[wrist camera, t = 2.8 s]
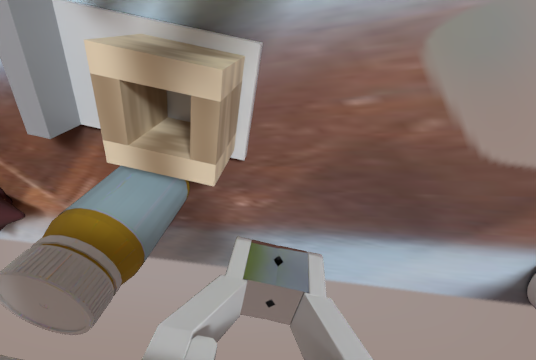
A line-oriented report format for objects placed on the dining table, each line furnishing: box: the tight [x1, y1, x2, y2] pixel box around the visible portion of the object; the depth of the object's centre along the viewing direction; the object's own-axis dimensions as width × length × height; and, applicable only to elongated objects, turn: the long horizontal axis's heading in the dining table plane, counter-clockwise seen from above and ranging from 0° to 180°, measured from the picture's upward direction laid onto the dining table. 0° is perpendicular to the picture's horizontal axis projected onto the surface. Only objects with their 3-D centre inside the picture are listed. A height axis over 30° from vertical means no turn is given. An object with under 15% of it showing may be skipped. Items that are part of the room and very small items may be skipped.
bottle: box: [0, 166, 190, 335], centre depth 22 cm, size 7×7×15 cm
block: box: [84, 34, 245, 186], centre depth 19 cm, size 8×8×6 cm
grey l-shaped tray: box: [0, 0, 263, 160], centre depth 21 cm, size 18×10×4 cm, turn 80°
